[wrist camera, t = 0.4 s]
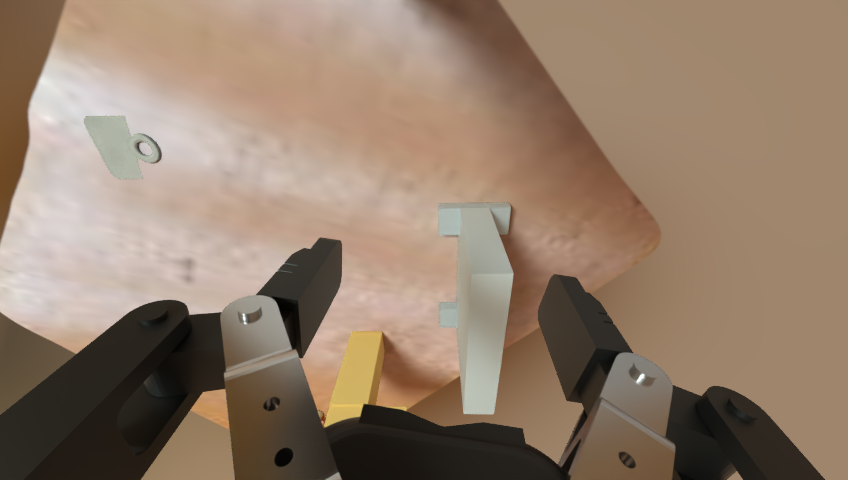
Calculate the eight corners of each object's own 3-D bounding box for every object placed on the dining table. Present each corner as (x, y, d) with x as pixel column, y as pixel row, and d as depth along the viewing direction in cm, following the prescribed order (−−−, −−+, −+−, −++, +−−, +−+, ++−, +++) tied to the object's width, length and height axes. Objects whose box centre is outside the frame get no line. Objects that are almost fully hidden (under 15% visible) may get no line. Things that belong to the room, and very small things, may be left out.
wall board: (438, 203, 31) (440, 274, 21) (508, 202, 31) (545, 273, 21) (439, 320, 39) (440, 413, 29) (494, 320, 39) (516, 414, 28)
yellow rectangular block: (351, 331, 41) (323, 423, 30) (412, 331, 40) (404, 424, 30) (356, 352, 43) (330, 445, 32) (413, 352, 42) (407, 447, 32)
